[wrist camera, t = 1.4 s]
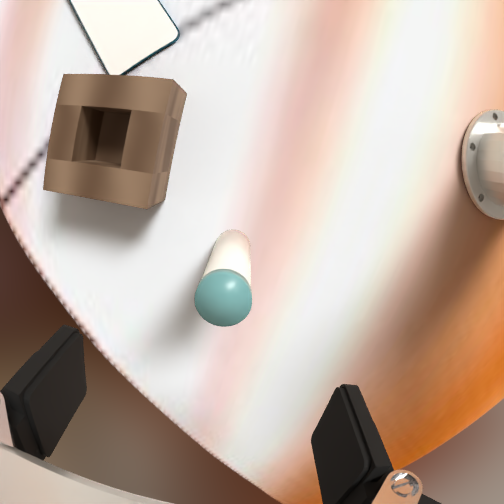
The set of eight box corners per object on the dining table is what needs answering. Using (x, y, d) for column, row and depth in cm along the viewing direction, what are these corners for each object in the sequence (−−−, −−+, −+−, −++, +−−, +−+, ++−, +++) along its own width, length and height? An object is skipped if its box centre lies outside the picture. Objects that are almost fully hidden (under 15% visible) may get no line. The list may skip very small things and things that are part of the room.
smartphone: (185, 39, 25) (124, -49, 21) (183, 35, 24) (122, -53, 20) (114, 83, 26) (65, -10, 22) (111, 82, 25) (62, -13, 21)
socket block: (186, 93, 26) (173, 79, 21) (165, 199, 29) (146, 209, 23) (91, 85, 25) (63, 74, 20) (73, 183, 28) (43, 189, 23)
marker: (254, 233, 30) (257, 281, 18) (246, 266, 30) (245, 331, 19) (218, 225, 29) (199, 269, 18) (212, 259, 30) (190, 320, 19)
